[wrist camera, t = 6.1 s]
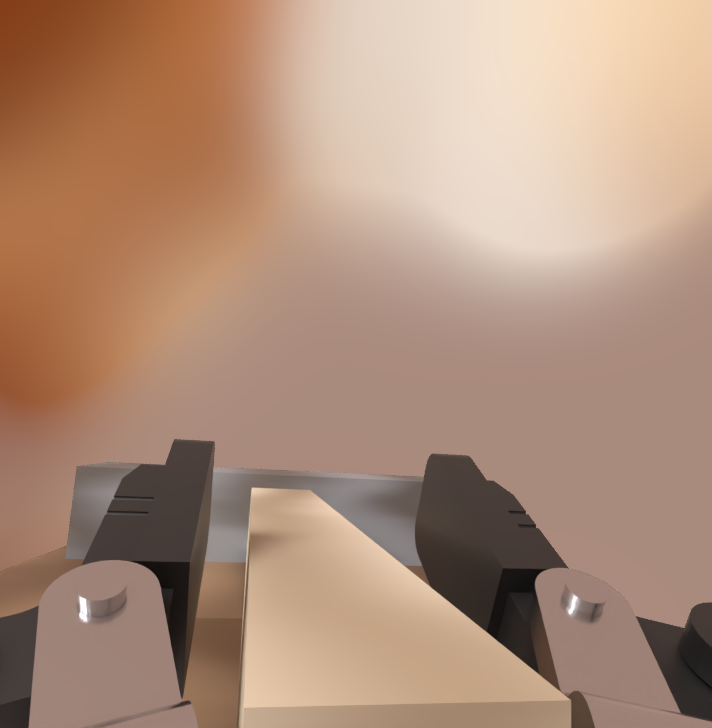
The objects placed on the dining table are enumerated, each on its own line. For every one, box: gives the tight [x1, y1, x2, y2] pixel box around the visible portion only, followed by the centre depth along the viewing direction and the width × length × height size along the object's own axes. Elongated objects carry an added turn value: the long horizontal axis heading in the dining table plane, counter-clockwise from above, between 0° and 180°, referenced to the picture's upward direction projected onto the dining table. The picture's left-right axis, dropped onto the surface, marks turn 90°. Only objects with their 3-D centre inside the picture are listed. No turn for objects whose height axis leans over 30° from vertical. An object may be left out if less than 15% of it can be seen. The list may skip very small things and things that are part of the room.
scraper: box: [65, 462, 571, 728], centre depth 16 cm, size 16×25×4 cm, turn 10°
